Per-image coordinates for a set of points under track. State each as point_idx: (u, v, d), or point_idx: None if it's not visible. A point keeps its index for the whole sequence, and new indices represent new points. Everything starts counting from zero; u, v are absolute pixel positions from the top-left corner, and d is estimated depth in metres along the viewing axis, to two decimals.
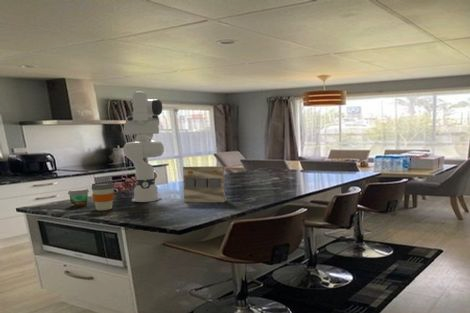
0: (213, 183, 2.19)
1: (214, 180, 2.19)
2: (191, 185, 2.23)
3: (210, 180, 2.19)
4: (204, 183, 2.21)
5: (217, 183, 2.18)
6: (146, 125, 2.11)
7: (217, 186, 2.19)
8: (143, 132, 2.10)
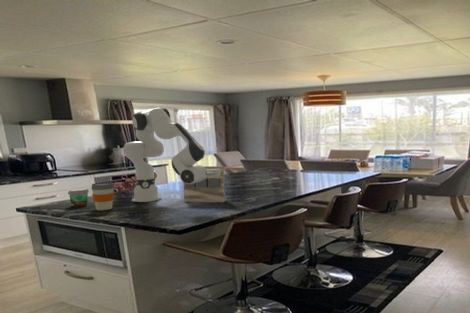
0: (213, 183, 2.19)
1: (214, 180, 2.19)
2: (191, 185, 2.23)
3: (210, 180, 2.19)
4: (204, 183, 2.21)
5: (217, 183, 2.18)
6: None
7: (217, 186, 2.19)
8: None
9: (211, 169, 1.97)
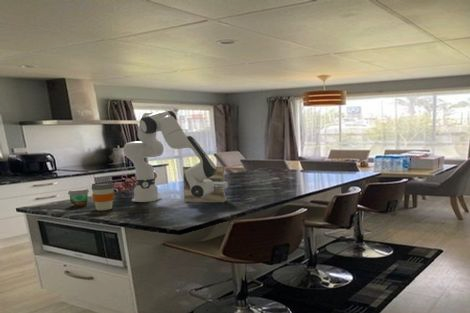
0: None
1: (214, 180, 2.19)
2: None
3: None
4: None
5: None
6: None
7: None
8: None
9: (219, 182, 2.10)
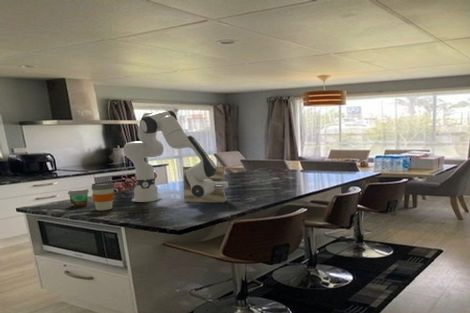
0: None
1: (215, 180, 2.20)
2: None
3: None
4: None
5: None
6: None
7: None
8: None
9: (219, 182, 2.10)
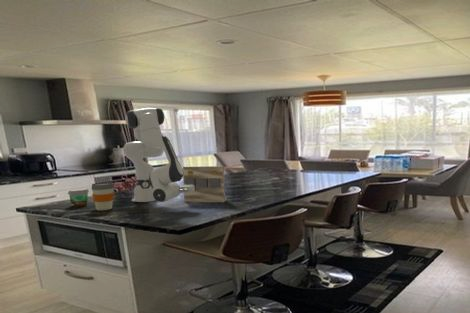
0: (214, 183, 2.20)
1: (215, 180, 2.20)
2: None
3: (211, 180, 2.21)
4: (204, 183, 2.21)
5: (218, 183, 2.20)
6: None
7: (218, 186, 2.20)
8: None
9: (185, 185, 2.02)
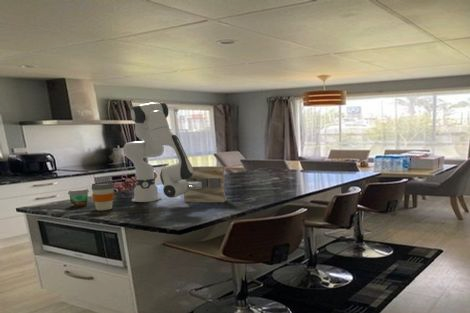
0: (214, 183, 2.20)
1: (215, 180, 2.20)
2: None
3: (211, 180, 2.21)
4: (204, 183, 2.21)
5: (218, 183, 2.20)
6: None
7: (218, 186, 2.20)
8: None
9: (193, 182, 2.14)
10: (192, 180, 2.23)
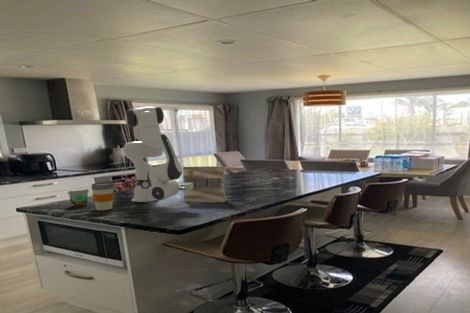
0: (214, 183, 2.20)
1: (215, 180, 2.20)
2: None
3: (211, 180, 2.21)
4: (204, 183, 2.21)
5: (218, 183, 2.20)
6: None
7: (218, 186, 2.20)
8: None
9: (184, 183, 2.02)
10: (192, 180, 2.24)
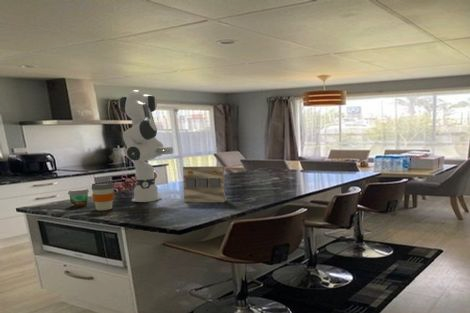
0: (214, 183, 2.20)
1: (215, 180, 2.20)
2: (192, 185, 2.24)
3: (211, 180, 2.21)
4: (204, 183, 2.21)
5: (218, 183, 2.20)
6: None
7: (218, 186, 2.20)
8: None
9: (163, 147, 1.94)
10: (192, 180, 2.24)
